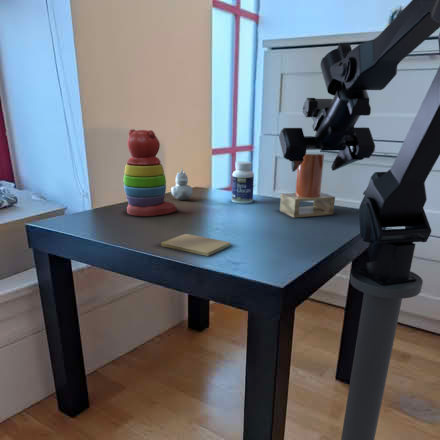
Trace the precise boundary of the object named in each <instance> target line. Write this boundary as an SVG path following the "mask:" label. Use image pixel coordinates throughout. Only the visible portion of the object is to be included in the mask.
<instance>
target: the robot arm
mask: <svg viewBox="0 0 440 440" xmlns="http://www.w3.org/2000/svg"><path fill="white" fill-rule="evenodd" d="M439 29H440V0H411V1H410V2H409V3H408V4H407V5H405V7H404V8H403V9H402V10H401V11H400V12H399V14H397V16H395V18H394V19H393V20H392V21H390V22H389V24H387V26H386V27H385V28H384V29H383V30H382V31H381V33H379V35H378V36H376V37H375V38H373V39H370V40H367V41H364V42H361V43H360V44H358V45H357V46H355V47H354V48H352V46H351V43H348V42H344V43H343V42H342V43H341V42H340V43H339V44H338V45H337V48H334V49H332V50H330V51H329V52H328V53H326V54H325V55H324V57H322V59H321V60H320V66H319V67H320V70H321V74H322V77H323V80H324V84H325V87H326V91H327V94H329V95H331V96H333V98H316V97H306V99H305V101H304V103H303V106H302V113H303V115H304V117H305V118H311V119H312V120H313V121H312V122H313V124H312V126H311V127H312V131H313V132H315V135H314V136H305V134H304V129H303V127H282V128H281V130H280V133H279V135H278V139H279V143H280V148H281V152H282V156H283V159H285V160H287V161H289V162H290V164H291V165H290V166H291V172H296V171H297V168H298V167H299V166H300V164H301V163H302V162H303V157H304V156H305V154H306V153H307V151H314V150H315V151H317V150H320V151H323V152H325V151H329V152H332V151H334V152H335V151H338V153H337V155H336V156H335V158H334V160H333V161H332V164H331V171H332V172H333V171H334V172H335V171H336V170H339V169H340V168H343V167H345V166H348V165H351V164H352V163H356V162H358V161H363V160H364V159H370V158H371V156H372V155H373V153H374V152H375V151H376V144H375V141H374V137H373V134H372V132H371V129H370V128H369V127H365V126H363V127H361V126H360V127H357V126H356V127H355V125H356V123H357V122H358V121H359V118H360V117H362V116H367V117H368V116H370V115H371V113H372V112H371V111H372V107H371V104H370V96H369V93H368V91H382V90H384V89H385V88H387V86H388V85H389V84H390V83H391V81H392V80H393V79H394V78H395V77H396V75H397V74H398V65H399V64H400V63H401V62H402V61H403V60H404V59H405V58H406V57H408V55H410V54H411V53H412V52H414V51H415V50H416V49H417V48H418V47H419V46H420V45H422V44H423V43H424V42H425V41H427V39H428V38H429V37H430V36H431V35H432V34H434V33H435V32H437V30H439ZM437 39H438V41H437V43H438V51H439V55H440V32H439V34H438V37H437ZM439 158H440V65H439V66H438V69H437V71H436V73H435V76H434V77H433V79H432V81H431V83H430V85H429V88H428V90H427V92H426V94H425V96H424V99H423V101H422V102H421V104H420V107H419V108H418V110H417V113H416V115H415V117H414V119H413V121H412V123H411V125H410V128H409V129H408V132H407V134H406V136H405V137H404V139H403V142H402V144H401V147H400V148H399V151H398V153H397V155H396V157H395V159H394V162H393V163H392V165H391V167H390V169H388V170H387V171H375V172H374V173H372V175H371V176H370V178H369V181H368V185H367V186H366V189H365V190H364V191H363V193H362V194H363V198H362V200H361V202H360V204H359V207H358V208H359V213H358V214H359V232H360V238H362V242H364V243H368V247H367V255H366V257H367V258H368V259H369V262H366V263H365V265H366V268H362V269H358V272H359V273H360V274H362V275H364V276H366V277H367V278H369V279H371V280H373V281H374V282H376V283H378V284H380V285H382V286H387V285H394V284H401V283H407V282H414V281H416V279H417V278H416V277H414V276H412V275H410V271H411V269H412V264H413V259H414V254H415V250H416V249H415V248H416V243H427V242H428V240H429V238H430V236H431V234H432V228H431V225H430V222H429V220H428V217H427V215H426V212H425V209H424V207H425V205H426V202H427V200H428V199H427V197H428V196H427V191H426V180H427V178H428V177H429V175H430V173H431V171H432V170H433V169H434V167H435V165H436V163H437V161H438V159H439ZM401 227H402V228H401ZM383 228H386V229H383ZM387 228H390V229H387ZM391 228H393V229H391Z"/></svg>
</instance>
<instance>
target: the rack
mask: <svg viewBox="0 0 440 440" xmlns="http://www.w3.org/2000/svg"><path fill="white" fill-rule="evenodd" d="M279 201H280V203H279V211H280V212H281V213H283V214H285V215H287V216H289V217H292V218H294V219H296V218H297V219H298V218H308V217H319V216H321V217H322V216H329V215H334V210H335V201H336V196H334V195H331V194H328V193H325V192H322V191H321V193H320V196H319V197H314V198H306V197H299V196H296V195H295V192H288V193H280V200H279ZM301 202H313V203H312V205H309V206H300V203H301Z"/></svg>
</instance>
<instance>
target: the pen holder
mask: <svg viewBox="0 0 440 440" xmlns="http://www.w3.org/2000/svg"><path fill="white" fill-rule="evenodd" d="M324 161H325V153H322V152H306V154H305V156H304V157H303V162H302V163H301V164H300V166H299V167H298V168H297V170H296V177H295V178H296V179H295V192H294V193H295V195H296V196H299V197H306V198H314V197H319V196H320V193H321V192H322V182H323V172H324Z"/></svg>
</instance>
